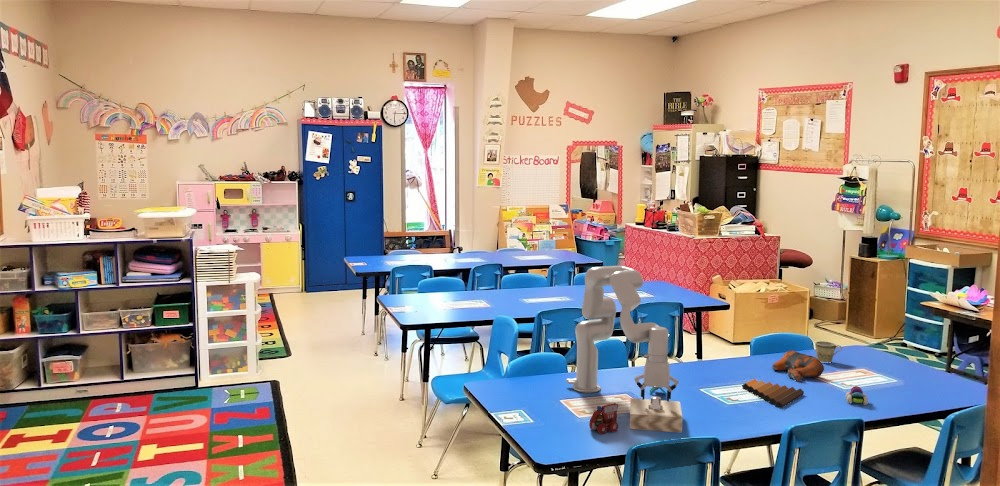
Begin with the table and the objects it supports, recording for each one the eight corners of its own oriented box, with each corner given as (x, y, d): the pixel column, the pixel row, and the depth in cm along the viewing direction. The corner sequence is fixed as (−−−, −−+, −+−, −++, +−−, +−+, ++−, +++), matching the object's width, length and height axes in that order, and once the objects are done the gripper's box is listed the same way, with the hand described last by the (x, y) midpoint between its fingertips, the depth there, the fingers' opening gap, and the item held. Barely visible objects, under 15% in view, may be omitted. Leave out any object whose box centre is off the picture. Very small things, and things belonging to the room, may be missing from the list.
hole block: (629, 428, 301) (630, 413, 301) (630, 412, 321) (630, 398, 320) (681, 432, 298) (682, 417, 297) (679, 415, 317) (679, 401, 317)
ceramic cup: (816, 364, 400) (817, 345, 399) (812, 359, 410) (813, 340, 409) (843, 365, 398) (844, 346, 397) (837, 360, 408) (839, 342, 407)
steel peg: (649, 423, 308) (650, 399, 307) (649, 419, 312) (650, 396, 311) (660, 424, 307) (661, 399, 306) (659, 420, 311) (660, 396, 310)
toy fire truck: (584, 430, 299) (585, 404, 298) (611, 425, 305) (612, 399, 304) (595, 436, 293) (595, 409, 292) (621, 431, 299) (622, 405, 298)
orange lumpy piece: (787, 362, 398) (760, 370, 391) (790, 340, 392) (763, 347, 386) (823, 387, 376) (795, 395, 370) (827, 364, 371) (799, 372, 365)
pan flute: (782, 409, 329) (803, 396, 347) (782, 402, 328) (804, 389, 347) (727, 396, 345) (750, 384, 364) (727, 389, 345) (751, 377, 363)
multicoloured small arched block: (865, 400, 341) (866, 385, 340) (868, 407, 332) (869, 391, 331) (844, 398, 344) (845, 382, 343) (846, 405, 335) (848, 389, 334)
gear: (669, 394, 340) (653, 378, 340) (660, 403, 340) (644, 387, 341) (665, 390, 351) (650, 374, 352) (656, 399, 351) (640, 383, 352)
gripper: (635, 359, 304) (633, 400, 306) (680, 362, 301) (678, 404, 303) (635, 354, 312) (633, 395, 314) (679, 357, 309) (677, 398, 311)
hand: (655, 399), depth 309 cm, fingers open, 9 cm apart
